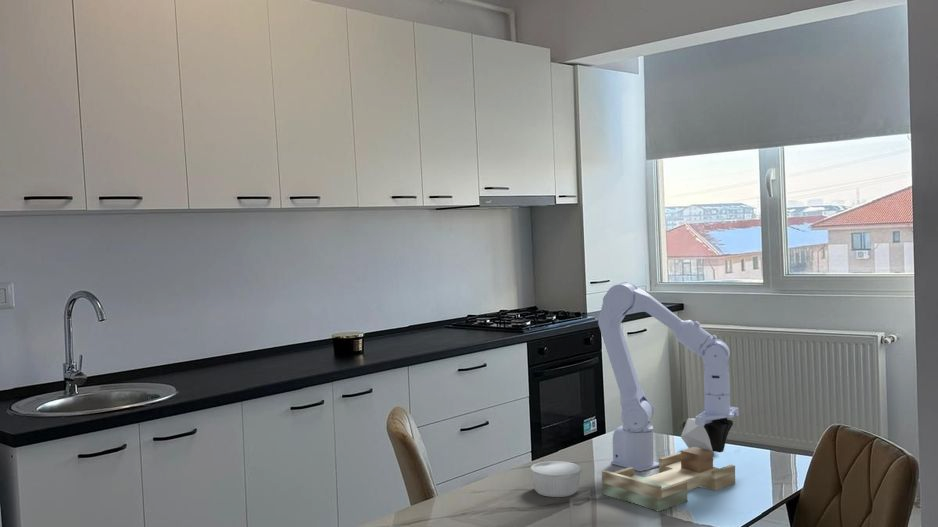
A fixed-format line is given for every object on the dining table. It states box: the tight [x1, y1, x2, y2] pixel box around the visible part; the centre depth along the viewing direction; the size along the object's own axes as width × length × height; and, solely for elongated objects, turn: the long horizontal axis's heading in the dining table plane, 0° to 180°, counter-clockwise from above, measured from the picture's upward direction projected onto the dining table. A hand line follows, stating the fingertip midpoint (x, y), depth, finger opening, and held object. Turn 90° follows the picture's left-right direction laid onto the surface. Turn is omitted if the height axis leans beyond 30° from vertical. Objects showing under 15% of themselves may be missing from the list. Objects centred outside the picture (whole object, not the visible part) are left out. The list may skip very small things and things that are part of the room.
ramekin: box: [529, 460, 582, 498], centre depth 180 cm, size 11×11×5 cm
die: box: [680, 417, 714, 452], centre depth 210 cm, size 8×9×10 cm
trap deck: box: [601, 452, 736, 512], centre depth 179 cm, size 15×27×5 cm, turn 129°
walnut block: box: [680, 447, 714, 473], centre depth 186 cm, size 5×5×4 cm
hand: (717, 451), depth 191 cm, fingers closed
